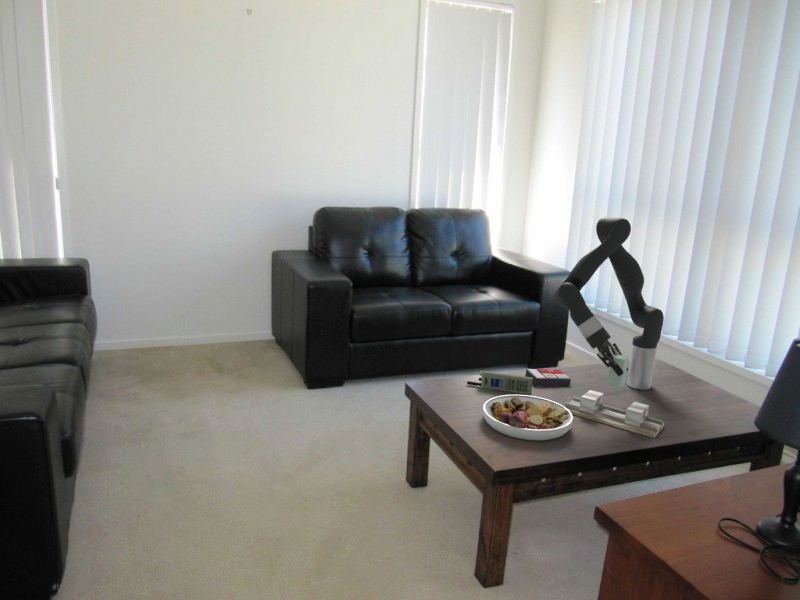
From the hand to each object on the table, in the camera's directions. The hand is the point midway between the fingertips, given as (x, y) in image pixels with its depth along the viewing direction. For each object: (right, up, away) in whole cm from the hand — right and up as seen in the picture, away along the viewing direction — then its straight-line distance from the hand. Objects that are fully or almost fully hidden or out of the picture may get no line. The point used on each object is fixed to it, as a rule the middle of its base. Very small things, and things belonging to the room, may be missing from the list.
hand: (623, 372), depth 218 cm
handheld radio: (-39, -10, +28) cm, 49 cm away
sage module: (-2, -4, +2) cm, 5 cm away
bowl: (-34, -18, -2) cm, 38 cm away
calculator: (-17, -9, +40) cm, 44 cm away
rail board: (-2, -17, +5) cm, 18 cm away
